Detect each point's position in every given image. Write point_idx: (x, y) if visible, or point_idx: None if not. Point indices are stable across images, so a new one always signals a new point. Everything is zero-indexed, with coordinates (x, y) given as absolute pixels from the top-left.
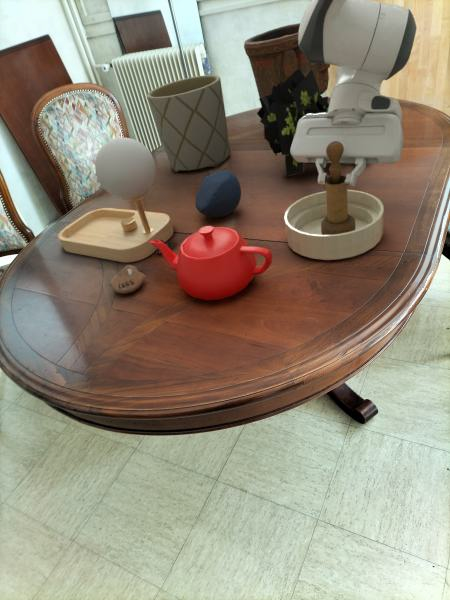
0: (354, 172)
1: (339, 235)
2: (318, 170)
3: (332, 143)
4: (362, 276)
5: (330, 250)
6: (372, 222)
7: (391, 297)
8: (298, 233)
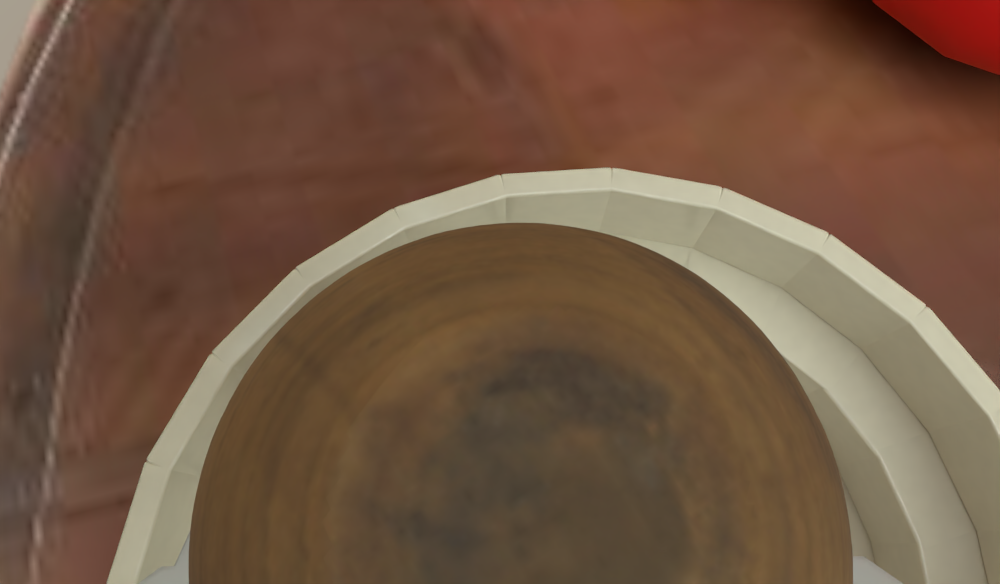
0: (167, 577)
1: (379, 217)
2: (887, 578)
3: (590, 415)
4: (241, 196)
5: None
6: (159, 472)
7: (59, 72)
8: (726, 190)
